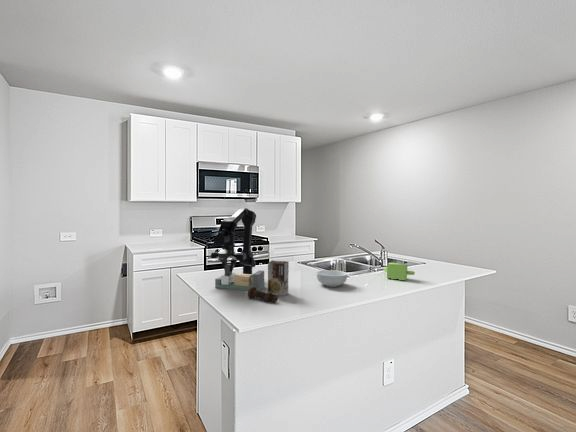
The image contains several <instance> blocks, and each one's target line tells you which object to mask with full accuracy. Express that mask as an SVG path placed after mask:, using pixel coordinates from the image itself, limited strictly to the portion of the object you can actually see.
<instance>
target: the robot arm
mask: <svg viewBox="0 0 576 432" xmlns="http://www.w3.org/2000/svg"><path fill="white" fill-rule="evenodd" d="M256 220H257V214H256V213H255V211H252V210H250V209H249V208H247V207H240V208H238V209H237V210H236V211H235V213H234V214H232V215H231V216H230V217H227V218H224V219H223V220H222V221H221V224H220V225H219V229H218V232H217V234H216V235H215V236H214V239H213V240H214V243H215V244H216V245H217V246H221V249H220V250H219V251H214V252H213V251H212V252H211V254H210V258H211V259H217V261H220V263H221V264H222V267H223V270H224V271H225V264H228V258H230V264H231V272H232V273H233V270H234V268H235V265H236V264H237V262H238V264H239V267H242V274H252V277H253V274H254V273H253V268H256V265H257V263H256V260H255V258H254V254H253V251H252V235H253V226H254V224H255V223H256ZM240 221H241V222H242V224H243V226H244V227H243V237H242V238H243V239H242V240H243V241H242V250H241V252H239V253H237V254H236V251H235V247H236V244H235V235H236V233H237V232H236V229H237V227H238V223H239V222H240Z"/></svg>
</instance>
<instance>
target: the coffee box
mask: <svg viewBox="0 0 576 432" xmlns="http://www.w3.org/2000/svg"><path fill="white" fill-rule="evenodd" d="M267 292H272V294H273V295H277V296H282V297H286V295H288V294H289V261H285V260H282V261H281V260H270V261H269V262H267Z"/></svg>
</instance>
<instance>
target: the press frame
mask: <svg viewBox="0 0 576 432" xmlns="http://www.w3.org/2000/svg"><path fill="white" fill-rule="evenodd" d="M252 274H253V276H252V284H251V285H250V286H237V285H234V282H233V283H231V284H229V285H223V284H221V276H222V275H220V276H219V277H217V278H215V279H214V282H215V283H214V284H215V285H214V287H215V288H217V289H218V288H219V289H228V290H241V291H248V290H249V289H250V288H251V287H256V290H258V291H261V289H263V288H264V287H265V270H257V271H255V272H254V273H252Z"/></svg>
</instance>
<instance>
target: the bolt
mask: <svg viewBox="0 0 576 432" xmlns="http://www.w3.org/2000/svg"><path fill="white" fill-rule="evenodd" d="M247 296H248V298H249V299H250V300H251V299H254V298H258V299H262V300H264V302H265V303H270V302H273V303H277V302H278V300H279V295H273V294H272V292H268V291H265V292H264V291H261V290H259V291H258V290H256V287H251V288H250V289H249V290H247Z"/></svg>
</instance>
